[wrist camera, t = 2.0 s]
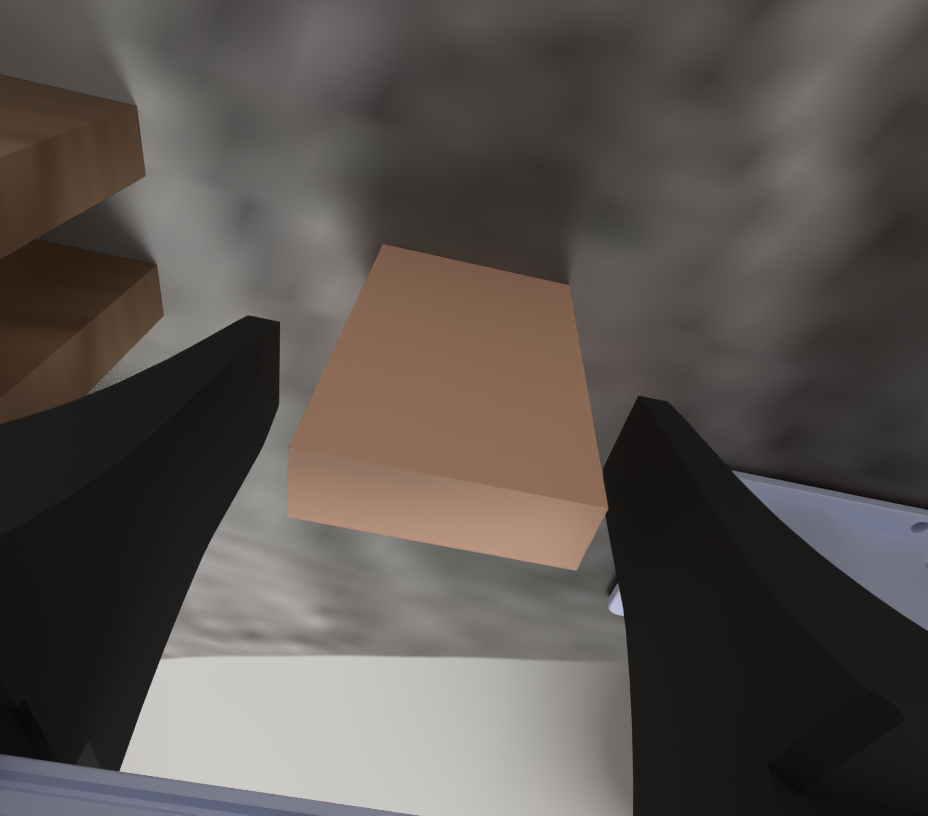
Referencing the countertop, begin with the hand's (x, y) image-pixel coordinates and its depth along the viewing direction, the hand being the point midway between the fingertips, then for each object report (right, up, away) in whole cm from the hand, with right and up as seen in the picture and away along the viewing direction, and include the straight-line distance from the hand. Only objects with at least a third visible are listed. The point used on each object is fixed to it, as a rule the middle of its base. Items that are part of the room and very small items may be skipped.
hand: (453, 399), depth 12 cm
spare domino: (0, +3, +4) cm, 5 cm away
